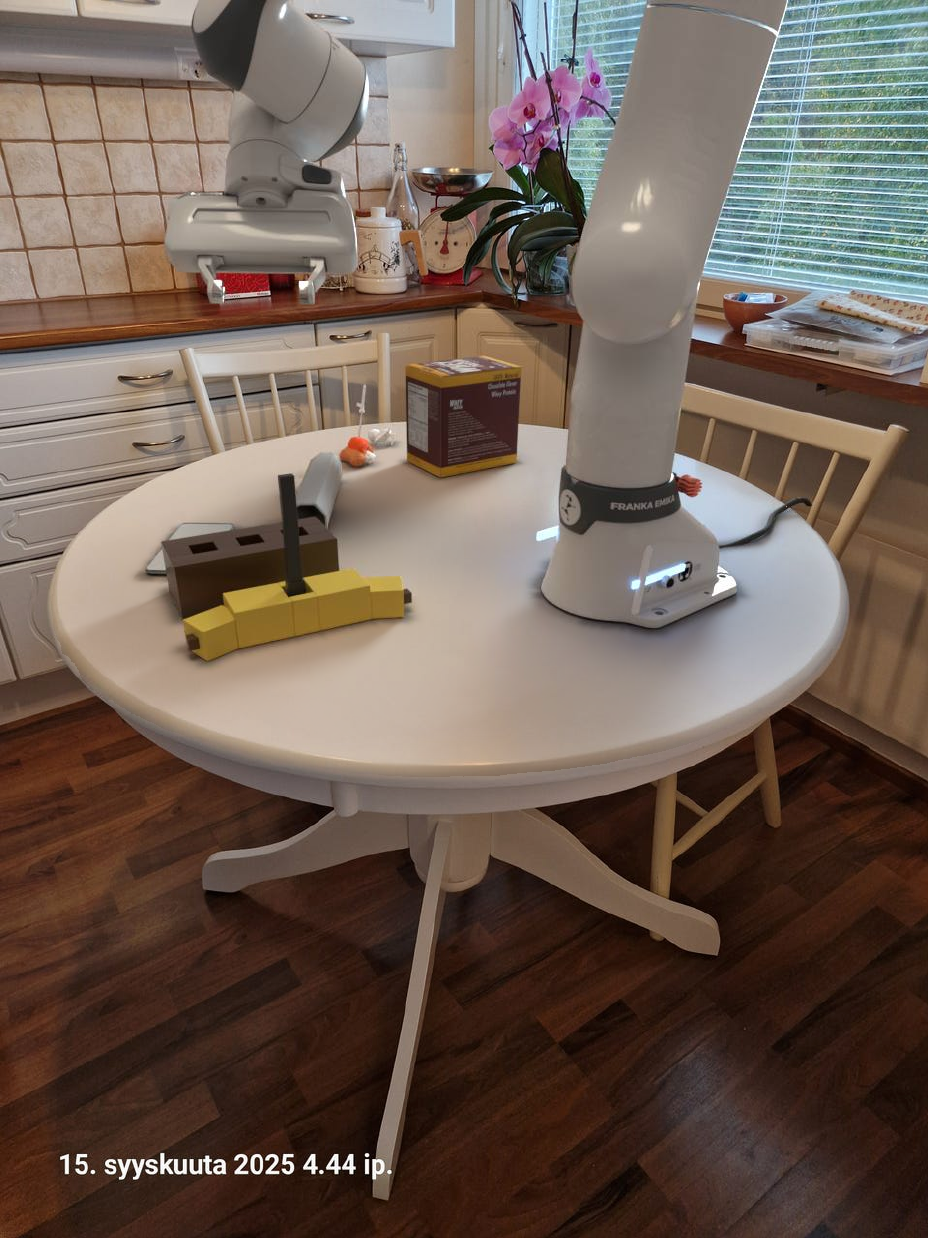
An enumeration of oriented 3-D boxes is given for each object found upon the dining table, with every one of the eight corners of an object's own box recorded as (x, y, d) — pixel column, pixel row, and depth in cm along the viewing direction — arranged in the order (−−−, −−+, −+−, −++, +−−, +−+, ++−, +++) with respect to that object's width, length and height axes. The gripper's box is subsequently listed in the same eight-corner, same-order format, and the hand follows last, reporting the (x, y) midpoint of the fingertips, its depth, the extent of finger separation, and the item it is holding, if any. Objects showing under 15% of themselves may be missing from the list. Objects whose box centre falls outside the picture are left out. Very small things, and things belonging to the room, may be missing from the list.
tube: (304, 453, 124) (278, 509, 102) (337, 442, 124) (318, 496, 102) (318, 485, 127) (295, 547, 104) (350, 474, 126) (334, 534, 104)
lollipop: (381, 452, 139) (379, 380, 133) (373, 469, 130) (370, 393, 125) (345, 451, 139) (342, 379, 133) (335, 468, 131) (330, 392, 125)
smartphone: (235, 523, 107) (204, 571, 94) (235, 527, 108) (205, 575, 94) (181, 522, 107) (143, 570, 94) (182, 526, 108) (144, 574, 94)
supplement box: (518, 462, 135) (523, 365, 127) (439, 478, 127) (440, 375, 120) (482, 447, 142) (484, 354, 135) (405, 461, 135) (404, 363, 127)
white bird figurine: (369, 433, 146) (377, 408, 144) (393, 443, 147) (402, 419, 145) (361, 446, 139) (370, 420, 137) (387, 456, 140) (396, 431, 138)
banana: (181, 637, 82) (175, 602, 80) (393, 592, 92) (393, 560, 90) (193, 664, 77) (187, 627, 76) (415, 614, 87) (415, 580, 85)
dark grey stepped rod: (305, 619, 86) (293, 472, 78) (308, 623, 85) (296, 475, 77) (289, 623, 85) (275, 474, 77) (291, 627, 84) (278, 477, 77)
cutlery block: (169, 591, 91) (160, 541, 88) (318, 563, 98) (315, 516, 96) (182, 619, 85) (173, 566, 83) (340, 587, 93) (337, 538, 90)
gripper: (161, 168, 86) (151, 278, 82) (356, 173, 88) (355, 281, 84) (177, 214, 92) (169, 318, 88) (359, 217, 94) (359, 320, 90)
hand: (261, 300), depth 86 cm, fingers open, 8 cm apart
